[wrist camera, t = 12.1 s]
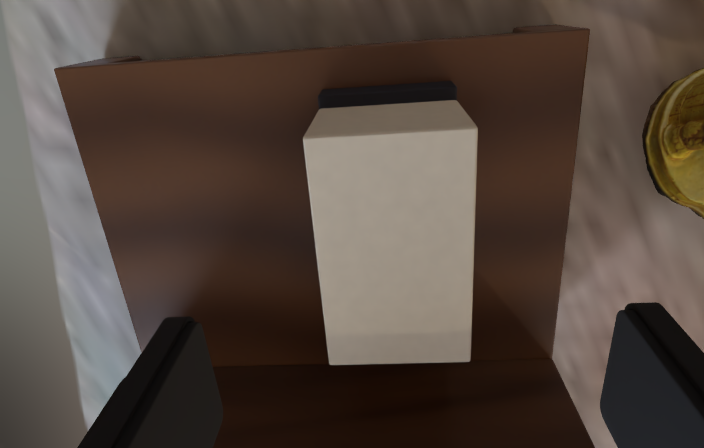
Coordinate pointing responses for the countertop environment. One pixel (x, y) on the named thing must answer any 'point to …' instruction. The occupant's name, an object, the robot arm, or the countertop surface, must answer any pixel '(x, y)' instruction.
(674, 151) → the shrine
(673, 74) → the countertop surface
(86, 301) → the countertop surface
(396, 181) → the beige cuboid
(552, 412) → the shoe shelf
